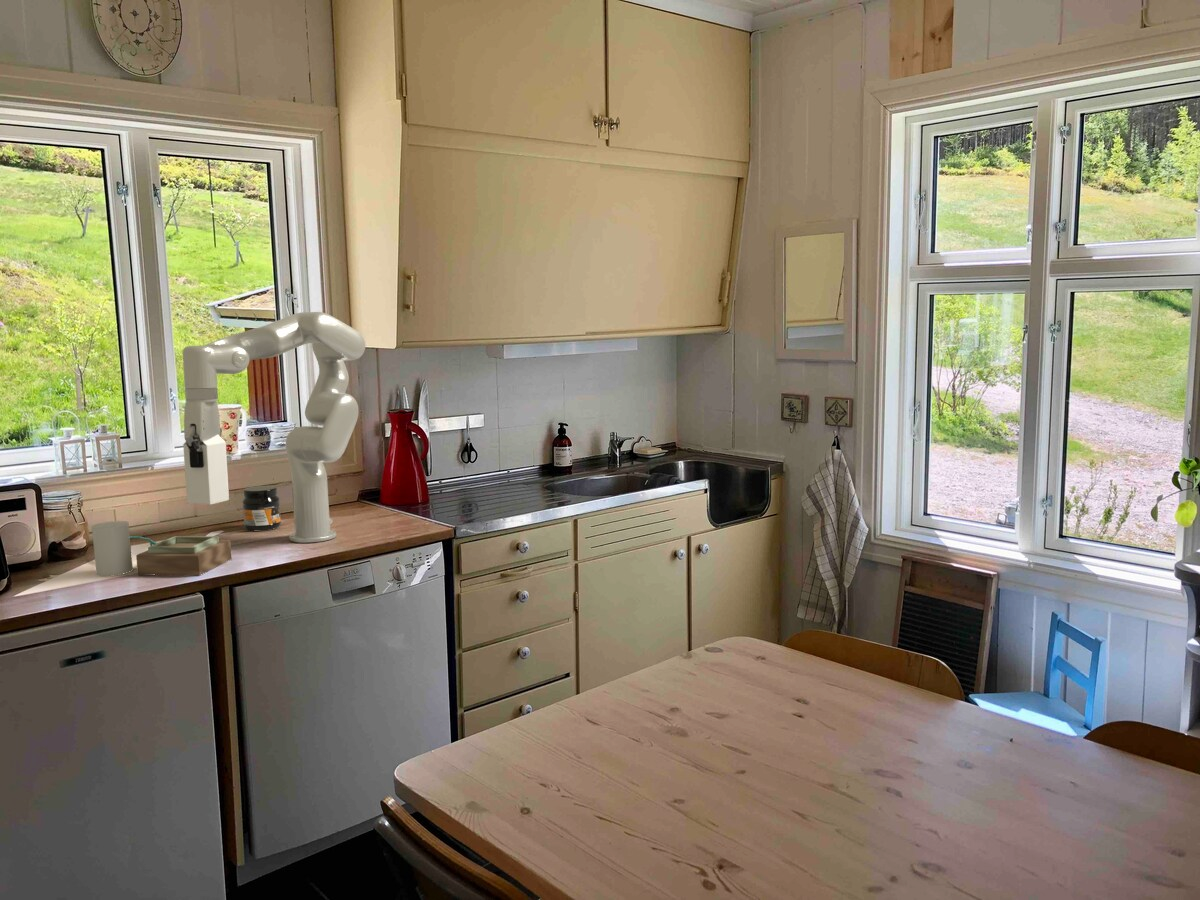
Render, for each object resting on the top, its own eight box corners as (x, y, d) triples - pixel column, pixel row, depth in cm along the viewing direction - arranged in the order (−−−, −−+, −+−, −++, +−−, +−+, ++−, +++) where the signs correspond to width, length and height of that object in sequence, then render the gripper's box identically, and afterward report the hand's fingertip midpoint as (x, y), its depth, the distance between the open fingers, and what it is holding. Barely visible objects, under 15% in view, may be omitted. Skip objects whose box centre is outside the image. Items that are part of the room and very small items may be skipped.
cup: (139, 567, 246) (135, 521, 245) (120, 576, 238) (116, 528, 237) (108, 567, 247) (104, 521, 246) (89, 576, 239) (84, 528, 237)
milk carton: (229, 500, 248) (225, 426, 246) (210, 505, 242) (205, 429, 239) (206, 499, 250) (201, 425, 248) (186, 504, 244) (181, 428, 241)
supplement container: (260, 533, 283) (257, 492, 281) (236, 529, 289) (233, 489, 287) (289, 526, 292) (286, 486, 290) (265, 523, 297) (262, 484, 296)
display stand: (173, 558, 255) (171, 534, 254) (231, 559, 253) (229, 534, 252) (137, 575, 239) (135, 549, 238) (199, 575, 237) (197, 549, 236)
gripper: (204, 393, 252) (208, 460, 254) (168, 397, 234) (173, 470, 237) (232, 393, 251) (236, 460, 253) (198, 397, 234) (202, 470, 236)
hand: (205, 464), depth 245 cm, fingers closed on milk carton, 8 cm apart
